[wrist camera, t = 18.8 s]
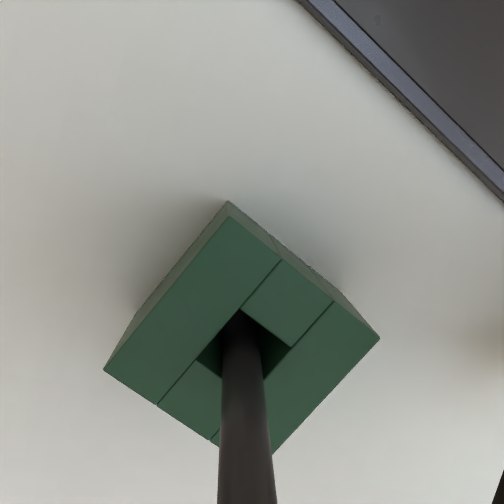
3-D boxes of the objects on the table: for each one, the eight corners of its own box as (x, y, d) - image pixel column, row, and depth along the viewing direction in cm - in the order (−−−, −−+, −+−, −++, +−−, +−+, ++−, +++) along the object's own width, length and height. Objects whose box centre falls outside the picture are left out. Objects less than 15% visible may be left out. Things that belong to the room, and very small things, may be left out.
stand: (133, 316, 19) (101, 370, 14) (228, 200, 18) (228, 214, 13) (249, 397, 20) (256, 473, 15) (342, 293, 19) (381, 338, 14)
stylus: (218, 307, 19) (188, 746, 6) (238, 286, 19) (250, 700, 6) (241, 324, 19) (260, 773, 6) (260, 304, 19) (323, 731, 6)
